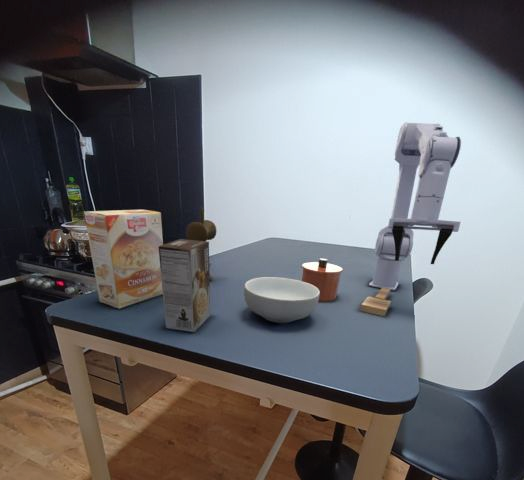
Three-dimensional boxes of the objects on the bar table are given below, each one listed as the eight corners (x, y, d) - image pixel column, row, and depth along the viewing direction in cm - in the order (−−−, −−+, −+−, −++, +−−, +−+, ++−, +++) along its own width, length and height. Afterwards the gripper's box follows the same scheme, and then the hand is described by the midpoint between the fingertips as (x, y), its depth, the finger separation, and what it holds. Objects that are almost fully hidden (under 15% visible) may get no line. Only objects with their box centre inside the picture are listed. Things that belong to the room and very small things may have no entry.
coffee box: (183, 312, 71) (179, 238, 64) (210, 316, 70) (210, 241, 63) (164, 328, 63) (157, 245, 56) (194, 333, 62) (191, 249, 55)
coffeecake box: (119, 309, 70) (104, 214, 61) (98, 302, 73) (81, 210, 64) (168, 293, 82) (162, 211, 73) (148, 287, 85) (140, 208, 76)
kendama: (187, 283, 91) (184, 207, 81) (199, 275, 99) (197, 205, 90) (207, 285, 90) (206, 209, 81) (217, 277, 98) (218, 207, 89)
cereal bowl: (305, 338, 64) (310, 304, 60) (230, 322, 68) (231, 290, 65) (321, 311, 78) (326, 283, 75) (258, 299, 82) (260, 272, 79)
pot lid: (309, 264, 92) (311, 253, 91) (346, 270, 88) (348, 259, 86) (295, 271, 83) (296, 259, 82) (335, 278, 79) (337, 266, 78)
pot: (307, 287, 95) (311, 262, 91) (340, 294, 91) (345, 268, 87) (294, 296, 87) (297, 268, 83) (329, 304, 83) (334, 275, 79)
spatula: (374, 292, 95) (375, 286, 94) (395, 296, 93) (397, 290, 92) (360, 311, 80) (361, 303, 79) (384, 316, 78) (386, 308, 77)
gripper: (392, 195, 70) (379, 258, 74) (468, 196, 64) (449, 265, 68) (395, 201, 76) (383, 259, 80) (464, 202, 70) (448, 265, 74)
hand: (414, 262), depth 74 cm, fingers open, 7 cm apart
